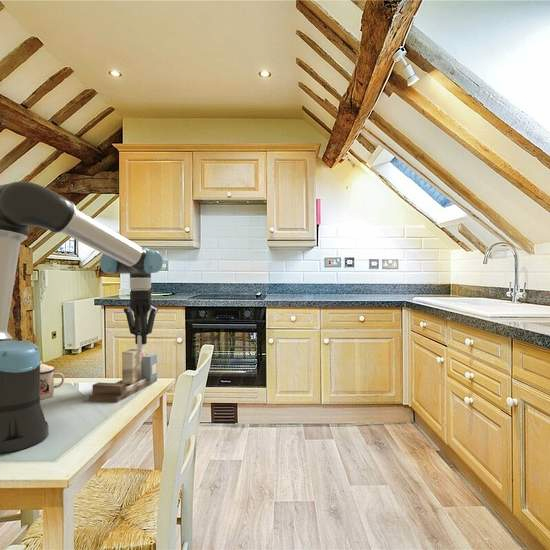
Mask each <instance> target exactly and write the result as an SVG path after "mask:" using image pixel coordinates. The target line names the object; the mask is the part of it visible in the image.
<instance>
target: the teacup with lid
mask: <svg viewBox="0 0 550 550" xmlns="http://www.w3.org/2000/svg"><path fill="white" fill-rule="evenodd" d="M54 371H55V367H54V366H51V365H47V364H45V363H43V361H42V360H41V362H40V401H41V400H45V399H48V398H52V397H54V394H55V389H58V388H60V387H61V386H63V384H64V382H65V376H64V374H63V373H61V372H54ZM54 376H60V377H61V381H60V382H59V384H57V385H54V384H55V378H54Z"/></svg>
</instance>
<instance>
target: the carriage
mask: <svg viewBox="0 0 550 550" xmlns="http://www.w3.org/2000/svg"><path fill="white" fill-rule="evenodd" d="M121 359H122V360H121V365H122V366H121V372H122V373H121V377H122V378H121V380H122V384H134V383H136V382H138V381H140V380H142V356H141V349H137V348H130V349H127V350H125V351H122V352H121Z"/></svg>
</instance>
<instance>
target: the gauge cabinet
mask: <svg viewBox="0 0 550 550" xmlns="http://www.w3.org/2000/svg"><path fill="white" fill-rule="evenodd" d="M144 378H148V380H151V384H150V385H153V384H154V383H156V382H157V381H158V354H157V353H155V354H154V353H145V356H142V379H144ZM154 379H155V380H154ZM156 379H157V380H156ZM153 380H154V381H153ZM155 381H156V382H155Z"/></svg>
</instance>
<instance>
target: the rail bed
mask: <svg viewBox="0 0 550 550" xmlns="http://www.w3.org/2000/svg"><path fill="white" fill-rule="evenodd" d="M154 380H155V379H154ZM154 380H153V381H154ZM156 380H157V381H158V378H157V379H156ZM157 381H155V382H154V383H156V382H157ZM151 385H152V384H151V380H148V378H144V379H142V380H140V381H138V382H136V383H134V384H122V379H121V380H119V381H116V382H96V383H94V384H92V394H90V395H89V396H88V401H89V402H101V401H103V402H102V403H106V402H107V403H119V402H121V401H122V400H124V399H126V398H128V397H130V396H132V395H134V394H135V393H137V392H140V391H141V390H143V389H144V388H147V387H148V386H151Z"/></svg>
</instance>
